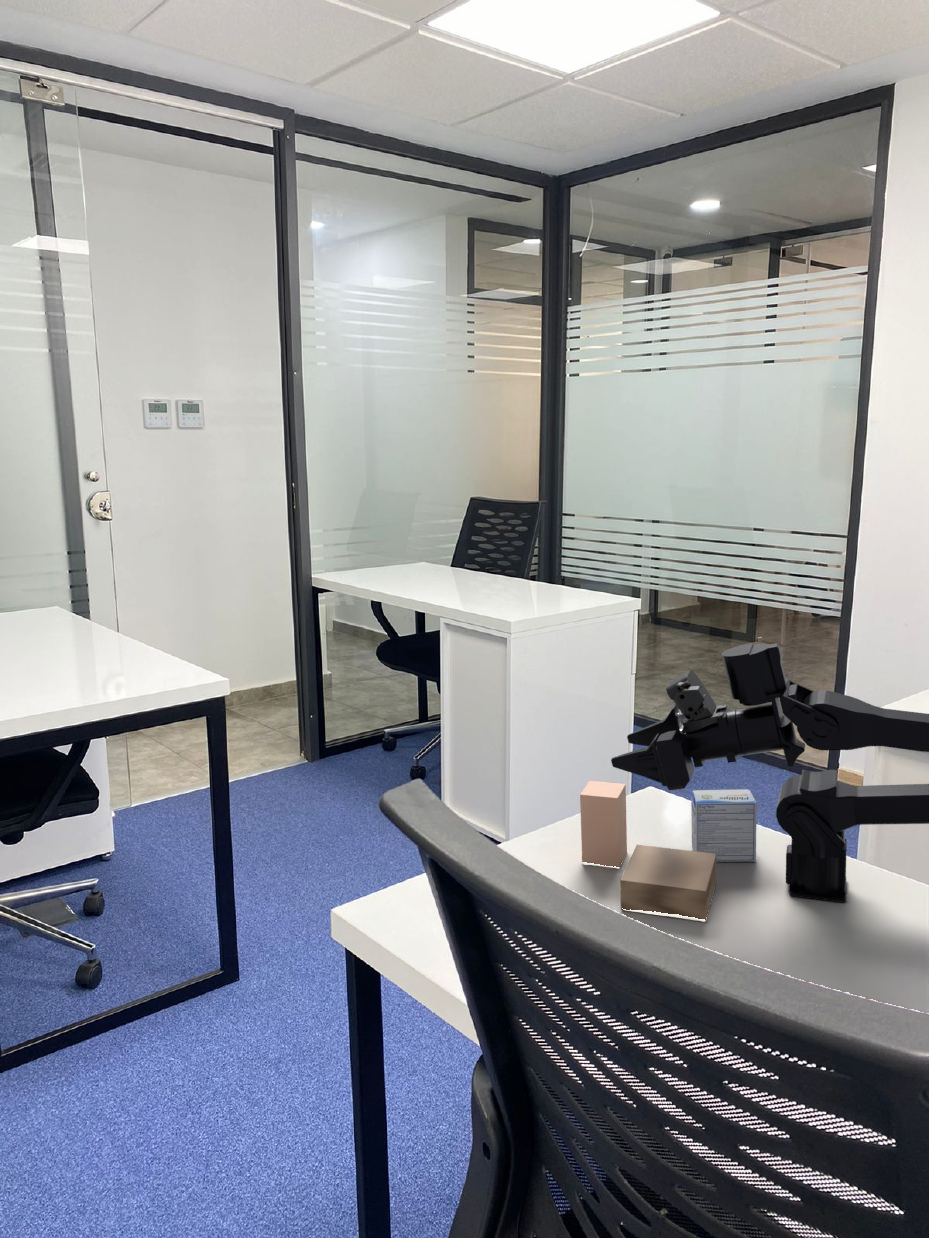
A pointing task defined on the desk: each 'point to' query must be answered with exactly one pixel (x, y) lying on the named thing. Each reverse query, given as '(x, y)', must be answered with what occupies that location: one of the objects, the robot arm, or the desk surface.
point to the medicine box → (724, 824)
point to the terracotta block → (603, 823)
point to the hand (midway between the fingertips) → (620, 750)
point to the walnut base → (669, 881)
